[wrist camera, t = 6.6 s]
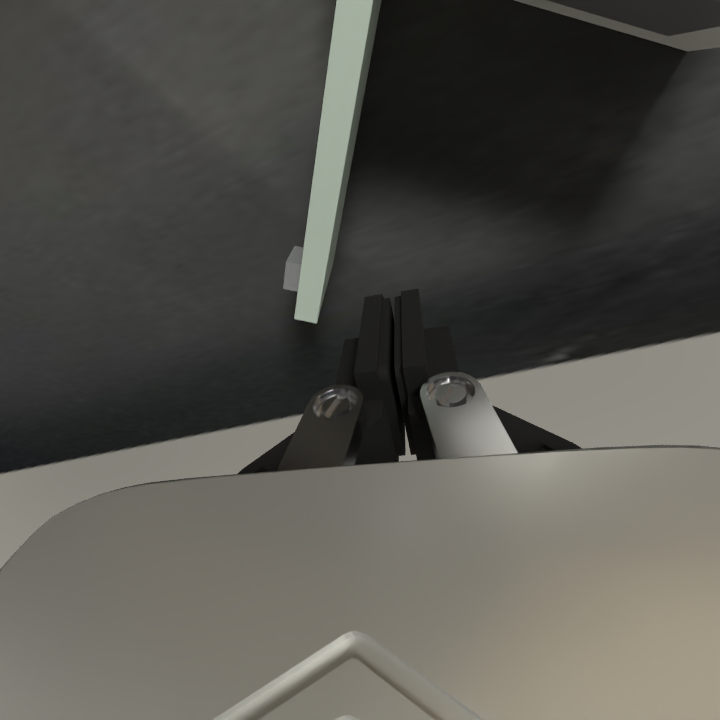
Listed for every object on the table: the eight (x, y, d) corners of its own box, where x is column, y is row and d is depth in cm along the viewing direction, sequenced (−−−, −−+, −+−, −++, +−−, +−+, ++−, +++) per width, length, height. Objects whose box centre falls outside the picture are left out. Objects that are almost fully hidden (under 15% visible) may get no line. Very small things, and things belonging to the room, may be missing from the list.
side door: (338, -44, 15) (312, -127, 9) (389, -29, 15) (395, -101, 10) (299, 256, 22) (271, 314, 17) (334, 264, 22) (318, 323, 17)
